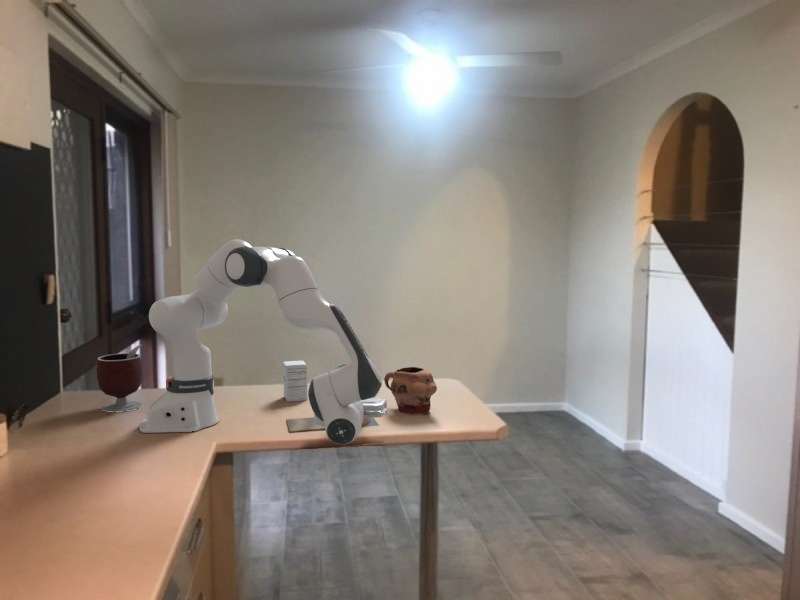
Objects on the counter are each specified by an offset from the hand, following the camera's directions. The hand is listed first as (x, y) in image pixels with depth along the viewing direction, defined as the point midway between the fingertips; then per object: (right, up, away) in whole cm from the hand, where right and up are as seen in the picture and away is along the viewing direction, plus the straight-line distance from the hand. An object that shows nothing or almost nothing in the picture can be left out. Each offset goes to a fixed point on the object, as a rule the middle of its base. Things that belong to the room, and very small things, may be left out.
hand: (352, 399), depth 182 cm
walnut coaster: (-13, -9, +4) cm, 16 cm away
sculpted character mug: (+17, -7, +20) cm, 27 cm away
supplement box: (-23, -5, +37) cm, 43 cm away
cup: (-5, -5, +42) cm, 42 cm away
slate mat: (0, -8, +7) cm, 11 cm away
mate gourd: (-78, -7, +27) cm, 83 cm away
